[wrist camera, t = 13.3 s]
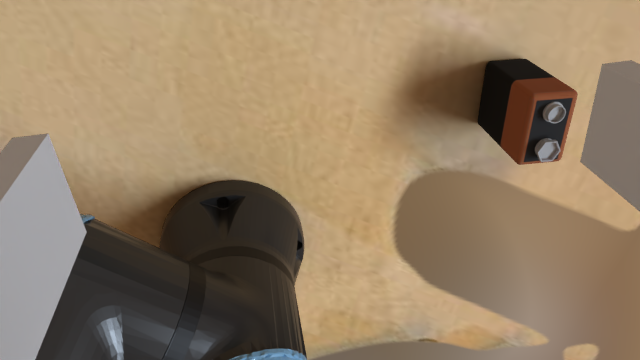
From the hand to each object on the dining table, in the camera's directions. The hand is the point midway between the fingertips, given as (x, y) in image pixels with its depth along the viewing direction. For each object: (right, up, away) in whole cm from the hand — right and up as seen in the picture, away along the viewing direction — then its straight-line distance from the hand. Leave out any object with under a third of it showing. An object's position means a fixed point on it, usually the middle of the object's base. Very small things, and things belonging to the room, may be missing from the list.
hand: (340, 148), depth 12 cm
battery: (+18, +8, +39) cm, 44 cm away
